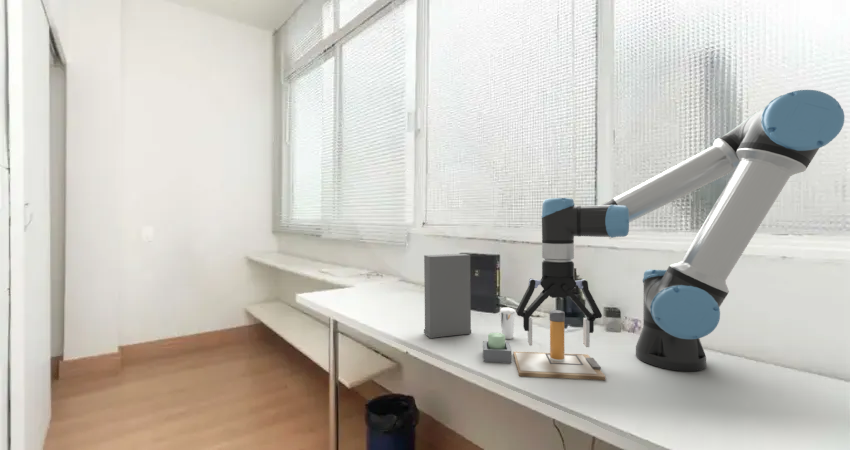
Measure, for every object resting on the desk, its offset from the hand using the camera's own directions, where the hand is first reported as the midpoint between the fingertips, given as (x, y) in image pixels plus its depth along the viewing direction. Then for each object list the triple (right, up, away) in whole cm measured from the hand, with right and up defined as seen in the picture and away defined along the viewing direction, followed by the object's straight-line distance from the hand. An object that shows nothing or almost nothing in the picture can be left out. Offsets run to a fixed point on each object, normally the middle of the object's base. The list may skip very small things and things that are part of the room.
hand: (557, 344), depth 96 cm
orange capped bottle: (0, -4, 0) cm, 4 cm away
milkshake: (-8, -5, +21) cm, 23 cm away
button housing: (-15, -5, +5) cm, 16 cm away
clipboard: (-1, -5, -2) cm, 5 cm away
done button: (-15, -3, +5) cm, 15 cm away
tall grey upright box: (-26, -5, +25) cm, 37 cm away
